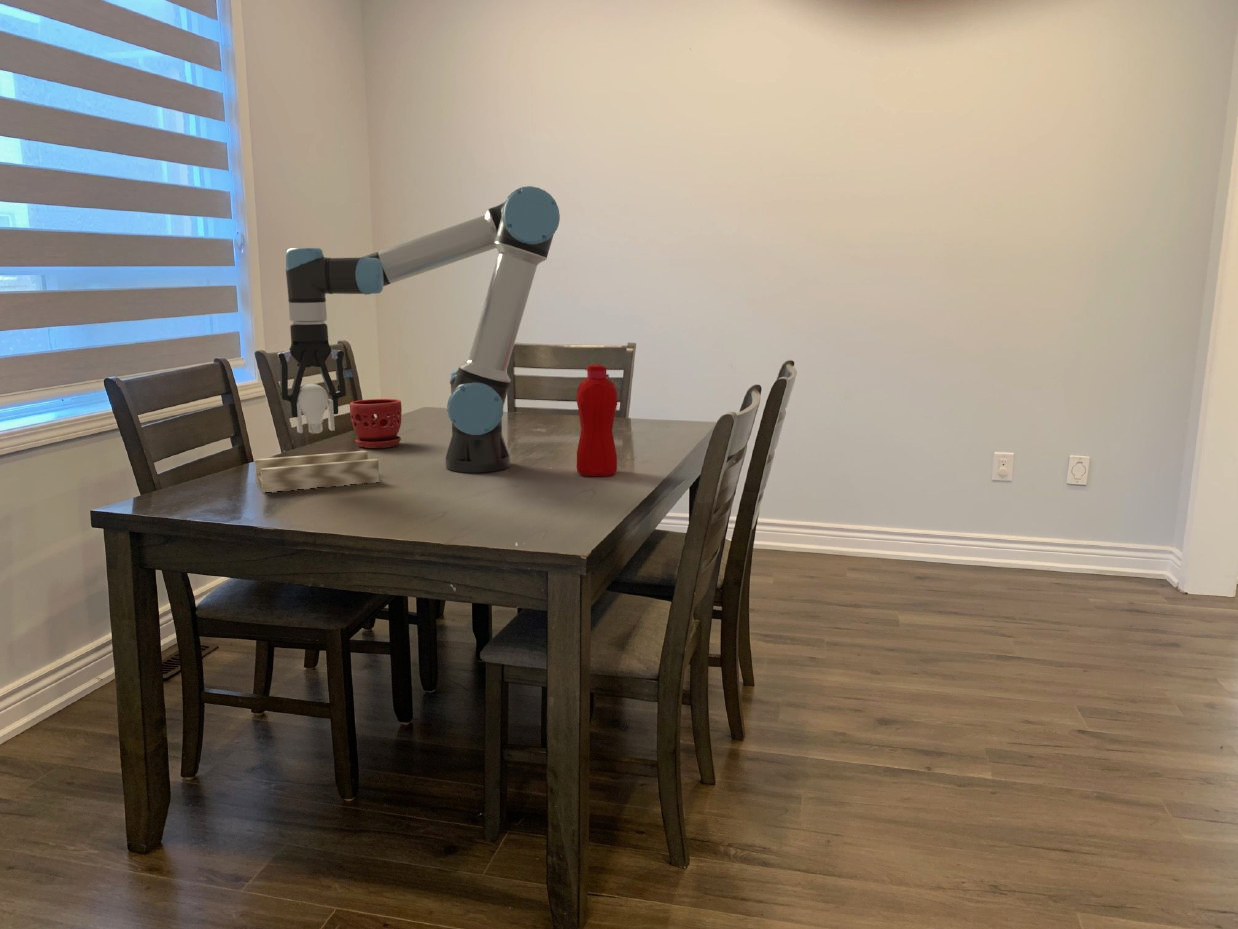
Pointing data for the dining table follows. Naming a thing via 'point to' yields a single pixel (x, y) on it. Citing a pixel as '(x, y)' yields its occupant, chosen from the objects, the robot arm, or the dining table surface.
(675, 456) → the dining table surface
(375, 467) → the beige chevron holder
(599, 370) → the water bottle
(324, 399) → the light bulb
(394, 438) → the plant pot
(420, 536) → the dining table surface
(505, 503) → the dining table surface
